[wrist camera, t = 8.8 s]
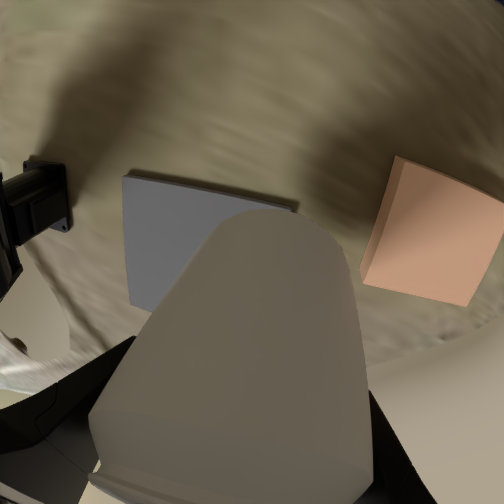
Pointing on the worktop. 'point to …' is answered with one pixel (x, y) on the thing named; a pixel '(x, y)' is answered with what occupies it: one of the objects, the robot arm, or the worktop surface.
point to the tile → (432, 235)
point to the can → (243, 377)
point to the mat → (170, 230)
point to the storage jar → (500, 2)
